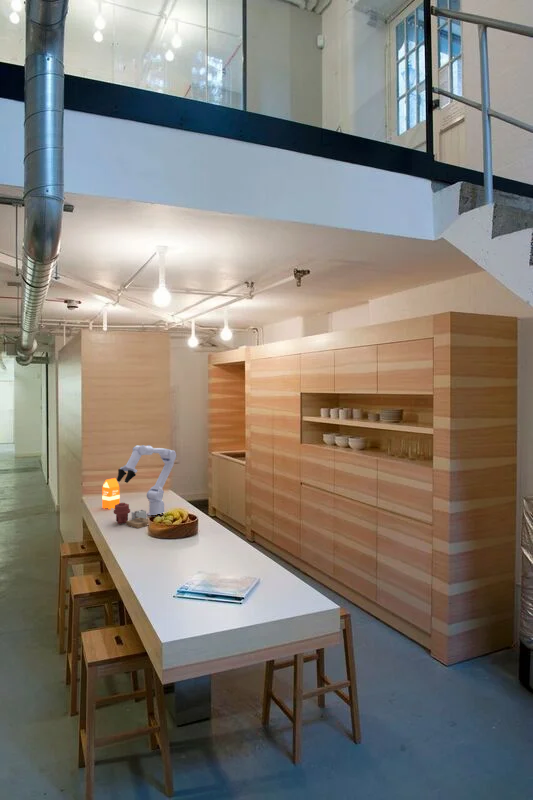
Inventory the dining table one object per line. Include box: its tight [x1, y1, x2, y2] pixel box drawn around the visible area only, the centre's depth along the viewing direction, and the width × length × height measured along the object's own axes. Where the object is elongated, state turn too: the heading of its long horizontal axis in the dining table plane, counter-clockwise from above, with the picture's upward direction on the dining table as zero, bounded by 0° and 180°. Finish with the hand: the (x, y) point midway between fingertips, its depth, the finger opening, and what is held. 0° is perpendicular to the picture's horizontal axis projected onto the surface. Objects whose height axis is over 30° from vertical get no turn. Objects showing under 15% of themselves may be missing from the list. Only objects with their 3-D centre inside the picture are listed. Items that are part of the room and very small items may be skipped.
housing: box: [131, 509, 147, 520], centre depth 331 cm, size 8×4×6 cm, turn 142°
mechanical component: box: [113, 502, 131, 525], centre depth 324 cm, size 12×10×10 cm
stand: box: [125, 517, 149, 529], centre depth 320 cm, size 11×11×2 cm
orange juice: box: [101, 477, 121, 510], centre depth 364 cm, size 8×9×20 cm
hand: (121, 481), depth 322 cm, fingers open, 7 cm apart
